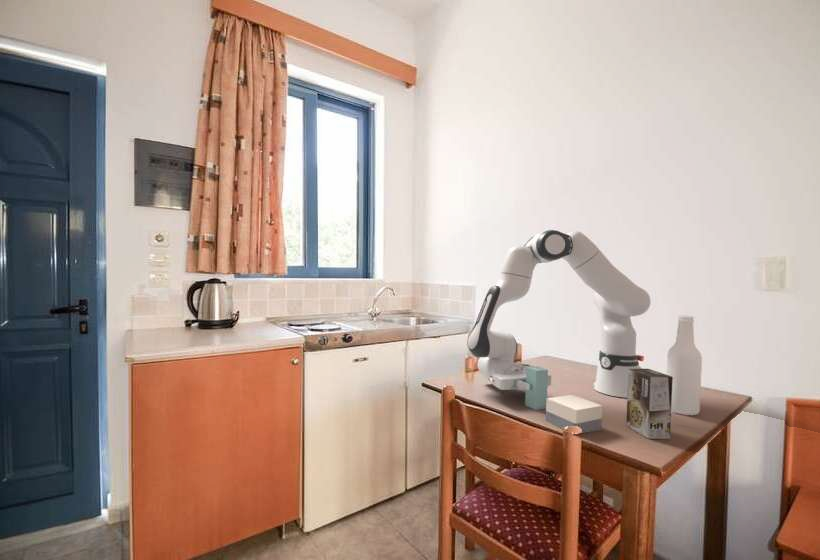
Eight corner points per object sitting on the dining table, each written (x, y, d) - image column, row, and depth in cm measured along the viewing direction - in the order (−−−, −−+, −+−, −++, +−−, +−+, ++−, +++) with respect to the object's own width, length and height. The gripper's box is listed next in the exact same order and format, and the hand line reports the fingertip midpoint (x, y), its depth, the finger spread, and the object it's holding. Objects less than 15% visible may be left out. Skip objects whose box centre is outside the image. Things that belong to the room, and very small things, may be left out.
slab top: (570, 406, 112) (571, 394, 112) (601, 418, 103) (602, 405, 103) (546, 410, 107) (546, 398, 107) (575, 423, 98) (576, 410, 98)
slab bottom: (572, 418, 112) (572, 406, 112) (601, 432, 102) (601, 419, 102) (545, 422, 108) (545, 410, 108) (573, 436, 99) (573, 423, 99)
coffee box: (671, 439, 98) (674, 376, 98) (647, 439, 97) (650, 376, 97) (646, 425, 107) (649, 368, 107) (624, 425, 106) (627, 367, 106)
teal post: (536, 403, 122) (537, 366, 122) (546, 408, 118) (547, 369, 118) (525, 405, 120) (526, 367, 120) (534, 409, 116) (536, 370, 116)
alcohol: (694, 418, 114) (699, 318, 113) (660, 409, 120) (665, 315, 120) (702, 412, 119) (707, 316, 119) (670, 404, 126) (674, 313, 126)
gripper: (485, 368, 127) (511, 379, 114) (534, 364, 135) (563, 374, 122) (484, 386, 127) (510, 400, 114) (533, 382, 135) (563, 394, 122)
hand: (538, 386), depth 118 cm, fingers closed on teal post, 4 cm apart
